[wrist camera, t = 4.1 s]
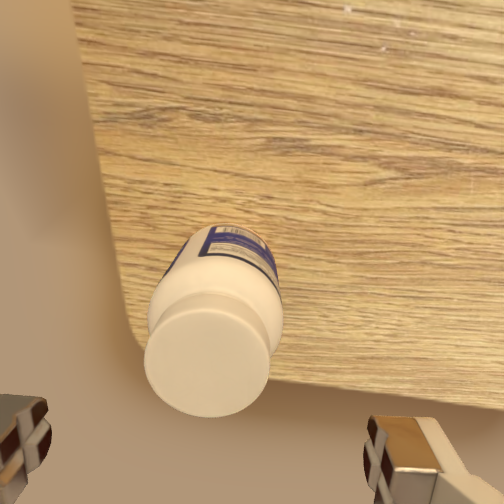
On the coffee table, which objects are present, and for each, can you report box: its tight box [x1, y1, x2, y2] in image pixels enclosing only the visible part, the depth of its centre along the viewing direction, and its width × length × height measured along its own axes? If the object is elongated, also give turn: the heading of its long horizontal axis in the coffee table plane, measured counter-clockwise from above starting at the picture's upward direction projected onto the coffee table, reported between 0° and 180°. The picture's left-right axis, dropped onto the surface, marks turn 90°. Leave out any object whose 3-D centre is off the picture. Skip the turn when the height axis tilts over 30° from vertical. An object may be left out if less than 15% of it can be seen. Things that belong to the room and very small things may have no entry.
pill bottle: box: [144, 223, 283, 418], centre depth 16 cm, size 5×5×9 cm
